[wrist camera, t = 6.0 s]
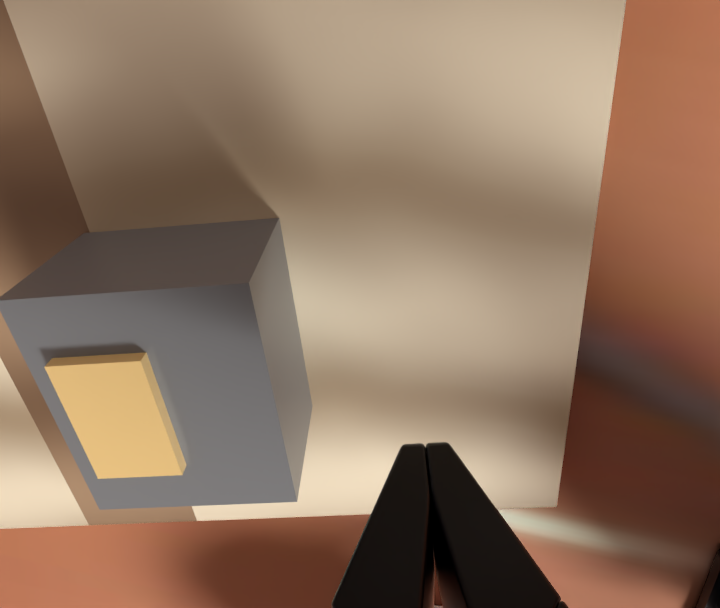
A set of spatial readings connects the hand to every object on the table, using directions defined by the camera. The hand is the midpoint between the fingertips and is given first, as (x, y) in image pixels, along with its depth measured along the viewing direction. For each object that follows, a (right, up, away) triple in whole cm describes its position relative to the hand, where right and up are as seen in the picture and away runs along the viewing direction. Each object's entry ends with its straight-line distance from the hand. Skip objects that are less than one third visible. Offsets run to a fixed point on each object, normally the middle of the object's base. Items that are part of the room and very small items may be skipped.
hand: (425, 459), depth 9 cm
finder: (-5, +2, +5) cm, 8 cm away
